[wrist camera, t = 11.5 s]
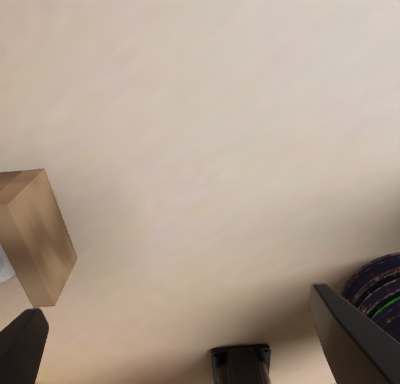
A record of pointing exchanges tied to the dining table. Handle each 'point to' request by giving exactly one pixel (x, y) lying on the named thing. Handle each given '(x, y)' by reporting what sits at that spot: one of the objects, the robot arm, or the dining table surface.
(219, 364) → the robot arm
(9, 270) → the bolt
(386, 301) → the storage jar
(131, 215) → the dining table surface
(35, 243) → the slot bracket
